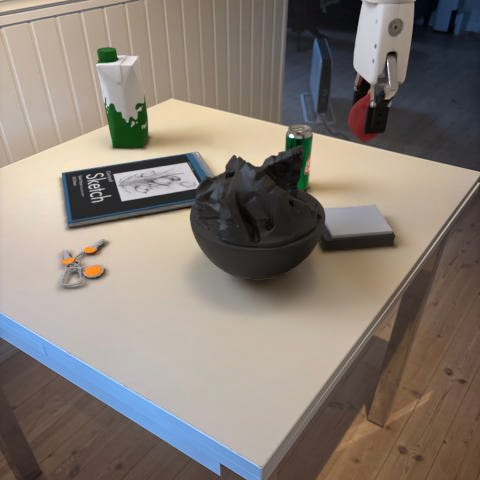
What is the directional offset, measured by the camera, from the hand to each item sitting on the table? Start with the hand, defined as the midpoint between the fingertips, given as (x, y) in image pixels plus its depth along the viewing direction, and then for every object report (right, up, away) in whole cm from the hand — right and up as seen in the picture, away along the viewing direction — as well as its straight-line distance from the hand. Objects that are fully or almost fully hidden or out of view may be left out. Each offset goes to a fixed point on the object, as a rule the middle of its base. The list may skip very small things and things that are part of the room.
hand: (367, 123), depth 76 cm
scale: (0, -15, +10) cm, 18 cm away
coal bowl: (-17, -22, +3) cm, 28 cm away
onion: (0, -2, +2) cm, 3 cm away
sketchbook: (-40, -4, +23) cm, 46 cm away
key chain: (-46, -21, +4) cm, 51 cm away
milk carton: (-46, +12, +41) cm, 63 cm away
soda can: (-9, -4, +23) cm, 25 cm away
